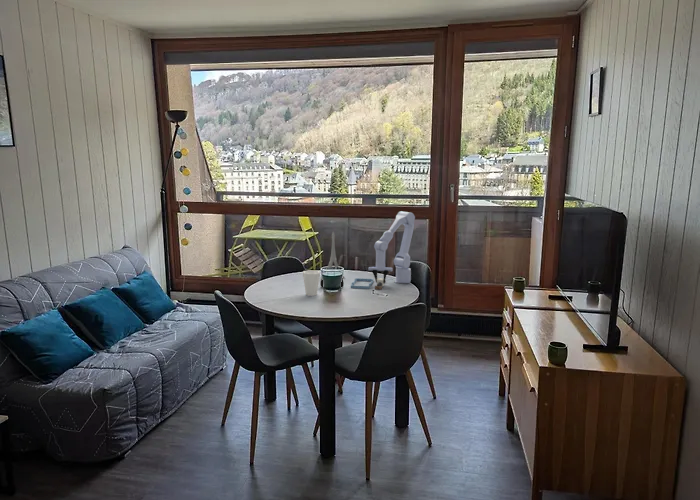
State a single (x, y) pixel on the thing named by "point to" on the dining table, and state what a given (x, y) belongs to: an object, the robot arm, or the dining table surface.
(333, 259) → the eiffel tower
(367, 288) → the tray
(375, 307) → the dining table surface
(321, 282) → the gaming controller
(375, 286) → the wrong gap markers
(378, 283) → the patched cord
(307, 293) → the foam cup
